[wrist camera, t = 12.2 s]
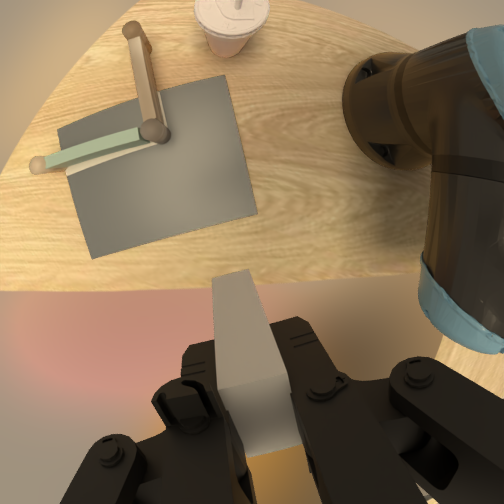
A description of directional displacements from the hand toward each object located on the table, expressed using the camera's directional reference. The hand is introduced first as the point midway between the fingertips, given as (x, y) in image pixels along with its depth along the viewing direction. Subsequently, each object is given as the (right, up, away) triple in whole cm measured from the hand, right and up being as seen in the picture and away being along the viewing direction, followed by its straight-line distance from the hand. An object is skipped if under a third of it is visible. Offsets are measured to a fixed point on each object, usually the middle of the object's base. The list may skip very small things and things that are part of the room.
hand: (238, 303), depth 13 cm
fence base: (-10, +19, +16) cm, 27 cm away
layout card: (-10, +11, +19) cm, 24 cm away
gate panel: (-16, +13, +17) cm, 27 cm away
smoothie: (-2, +25, +16) cm, 30 cm away
